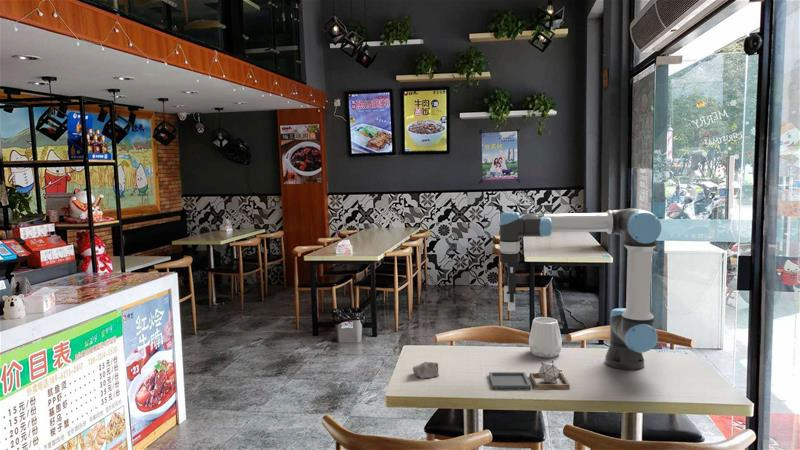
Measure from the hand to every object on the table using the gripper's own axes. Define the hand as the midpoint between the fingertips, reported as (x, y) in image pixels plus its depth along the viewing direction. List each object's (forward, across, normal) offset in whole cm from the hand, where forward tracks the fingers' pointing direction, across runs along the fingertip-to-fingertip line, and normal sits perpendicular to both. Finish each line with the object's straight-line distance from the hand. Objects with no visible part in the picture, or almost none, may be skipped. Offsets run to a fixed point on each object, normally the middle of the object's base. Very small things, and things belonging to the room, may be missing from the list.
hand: (509, 306), depth 235 cm
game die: (+28, +7, +14) cm, 32 cm away
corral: (+28, +7, +14) cm, 32 cm away
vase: (+28, -27, +18) cm, 43 cm away
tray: (+28, +8, -1) cm, 29 cm away
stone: (+28, +1, -33) cm, 43 cm away
